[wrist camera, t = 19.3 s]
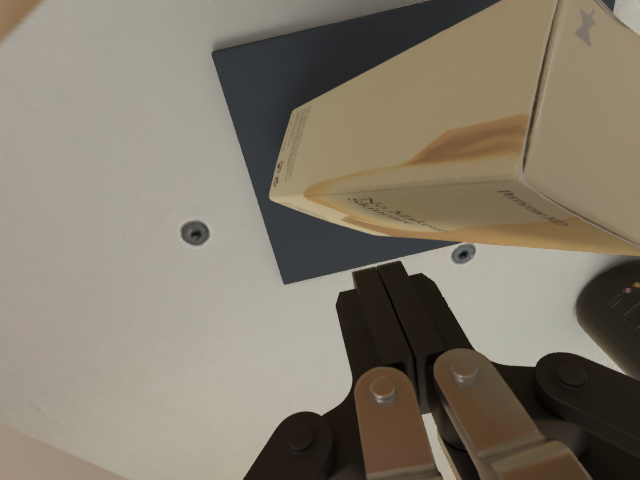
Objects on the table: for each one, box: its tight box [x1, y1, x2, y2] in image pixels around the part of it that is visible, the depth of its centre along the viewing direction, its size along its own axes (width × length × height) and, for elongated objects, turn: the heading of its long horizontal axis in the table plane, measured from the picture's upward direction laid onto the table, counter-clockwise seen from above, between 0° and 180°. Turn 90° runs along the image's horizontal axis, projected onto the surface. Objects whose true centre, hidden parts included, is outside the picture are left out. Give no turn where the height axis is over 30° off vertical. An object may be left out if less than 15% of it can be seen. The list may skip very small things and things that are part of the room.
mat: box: [212, 0, 615, 285], centre depth 21 cm, size 18×13×1 cm
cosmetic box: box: [269, 0, 640, 256], centre depth 14 cm, size 6×4×12 cm
